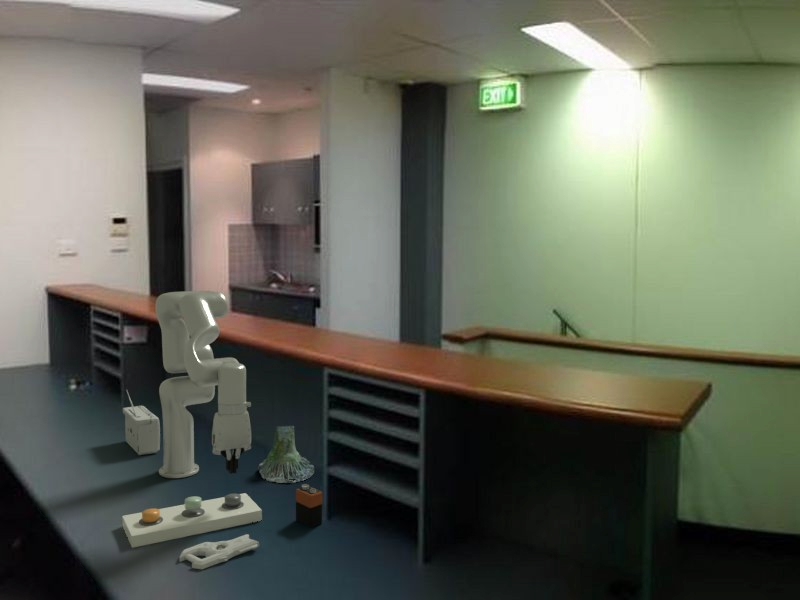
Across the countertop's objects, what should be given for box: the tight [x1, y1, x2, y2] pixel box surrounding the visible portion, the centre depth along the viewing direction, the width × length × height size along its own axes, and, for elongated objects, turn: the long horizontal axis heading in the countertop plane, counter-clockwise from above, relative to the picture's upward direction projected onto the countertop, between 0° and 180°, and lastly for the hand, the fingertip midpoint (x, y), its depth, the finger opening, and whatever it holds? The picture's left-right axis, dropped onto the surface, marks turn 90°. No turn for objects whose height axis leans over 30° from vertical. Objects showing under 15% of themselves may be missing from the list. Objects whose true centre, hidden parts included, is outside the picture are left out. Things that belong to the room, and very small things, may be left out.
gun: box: [179, 533, 260, 570], centre depth 170 cm, size 18×3×10 cm
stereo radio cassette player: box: [122, 389, 161, 456], centre depth 250 cm, size 21×8×20 cm, turn 35°
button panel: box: [121, 492, 263, 549], centre depth 187 cm, size 14×34×3 cm, turn 121°
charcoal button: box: [224, 493, 241, 507], centre depth 193 cm, size 4×4×2 cm
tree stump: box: [257, 425, 315, 484], centre depth 228 cm, size 18×20×18 cm
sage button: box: [184, 495, 202, 510], centre depth 187 cm, size 4×4×2 cm
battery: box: [295, 483, 323, 528], centre depth 190 cm, size 4×7×10 cm, turn 46°
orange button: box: [141, 507, 160, 523], centre depth 182 cm, size 4×4×2 cm
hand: (231, 471), depth 192 cm, fingers closed
